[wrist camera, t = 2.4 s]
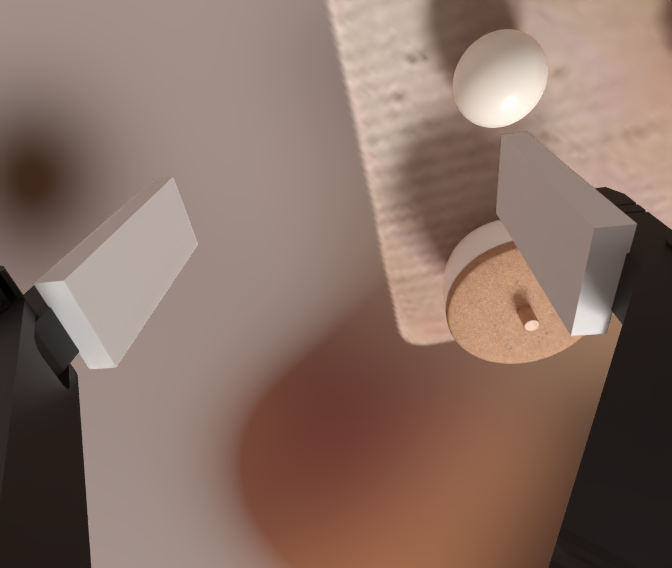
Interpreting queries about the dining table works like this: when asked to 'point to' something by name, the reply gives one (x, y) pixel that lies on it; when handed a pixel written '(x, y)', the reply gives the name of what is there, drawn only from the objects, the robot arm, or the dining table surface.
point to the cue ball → (500, 78)
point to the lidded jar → (499, 301)
